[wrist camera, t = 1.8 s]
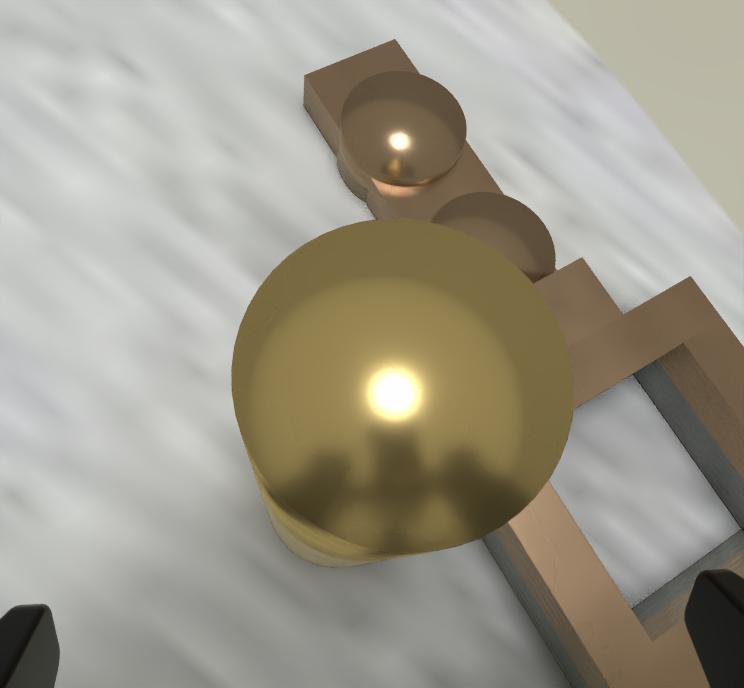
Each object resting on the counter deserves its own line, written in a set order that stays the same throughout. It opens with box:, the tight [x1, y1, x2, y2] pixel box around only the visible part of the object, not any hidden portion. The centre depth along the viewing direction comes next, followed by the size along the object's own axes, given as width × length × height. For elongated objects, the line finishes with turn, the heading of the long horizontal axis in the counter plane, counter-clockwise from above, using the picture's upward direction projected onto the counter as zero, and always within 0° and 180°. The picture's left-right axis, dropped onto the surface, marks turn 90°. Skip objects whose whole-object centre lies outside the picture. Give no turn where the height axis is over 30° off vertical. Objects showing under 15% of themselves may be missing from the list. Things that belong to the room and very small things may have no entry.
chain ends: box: [304, 39, 744, 688], centre depth 19 cm, size 33×9×3 cm, turn 31°
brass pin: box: [232, 219, 574, 567], centre depth 14 cm, size 4×4×12 cm
